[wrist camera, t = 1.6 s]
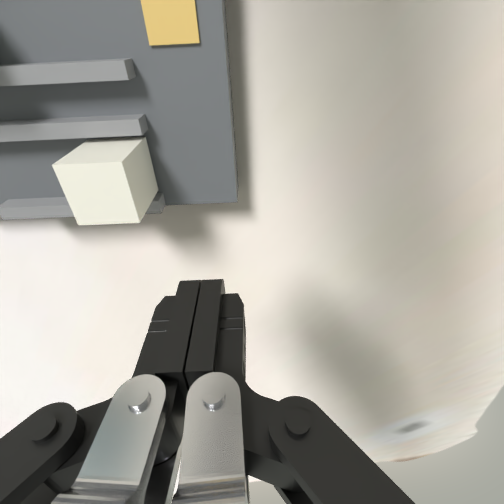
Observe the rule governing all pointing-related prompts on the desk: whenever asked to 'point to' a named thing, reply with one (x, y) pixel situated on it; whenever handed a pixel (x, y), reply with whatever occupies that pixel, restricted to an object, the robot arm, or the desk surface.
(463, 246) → the desk surface
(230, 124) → the switch panel
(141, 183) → the cream tab
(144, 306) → the desk surface
